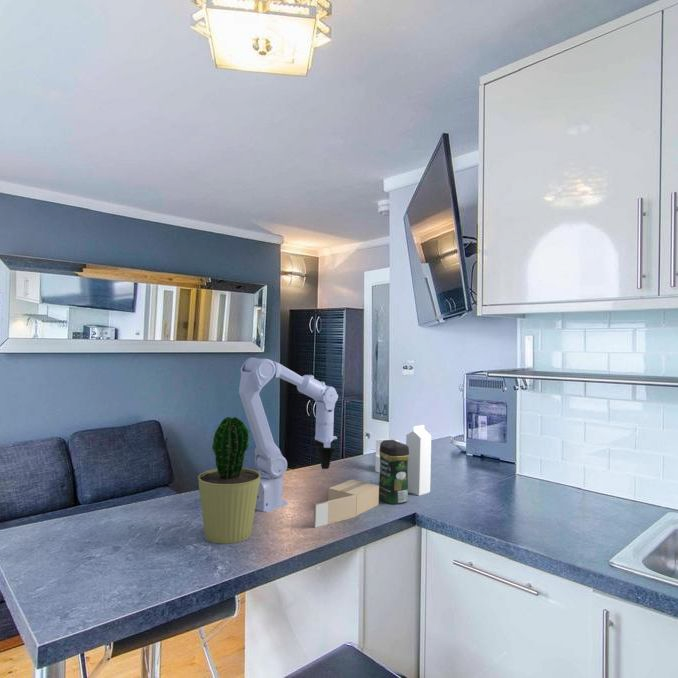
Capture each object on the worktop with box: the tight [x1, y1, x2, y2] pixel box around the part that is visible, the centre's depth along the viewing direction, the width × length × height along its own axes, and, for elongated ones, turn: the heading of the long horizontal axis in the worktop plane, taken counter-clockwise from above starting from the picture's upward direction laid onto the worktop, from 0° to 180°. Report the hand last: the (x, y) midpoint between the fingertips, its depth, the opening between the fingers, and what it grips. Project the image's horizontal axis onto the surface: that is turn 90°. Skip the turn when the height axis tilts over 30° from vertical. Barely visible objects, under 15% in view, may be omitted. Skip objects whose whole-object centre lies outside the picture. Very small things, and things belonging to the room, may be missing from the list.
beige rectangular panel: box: [313, 495, 357, 529], centre depth 129 cm, size 1×14×6 cm, turn 129°
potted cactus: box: [197, 416, 261, 545], centre depth 120 cm, size 15×15×30 cm
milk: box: [405, 424, 432, 497], centre depth 158 cm, size 6×6×22 cm
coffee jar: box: [378, 439, 409, 505], centre depth 149 cm, size 10×8×19 cm
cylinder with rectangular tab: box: [374, 437, 400, 474], centre depth 183 cm, size 9×9×12 cm
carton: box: [327, 479, 380, 517], centre depth 142 cm, size 12×10×6 cm
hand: (323, 465), depth 153 cm, fingers open, 7 cm apart
